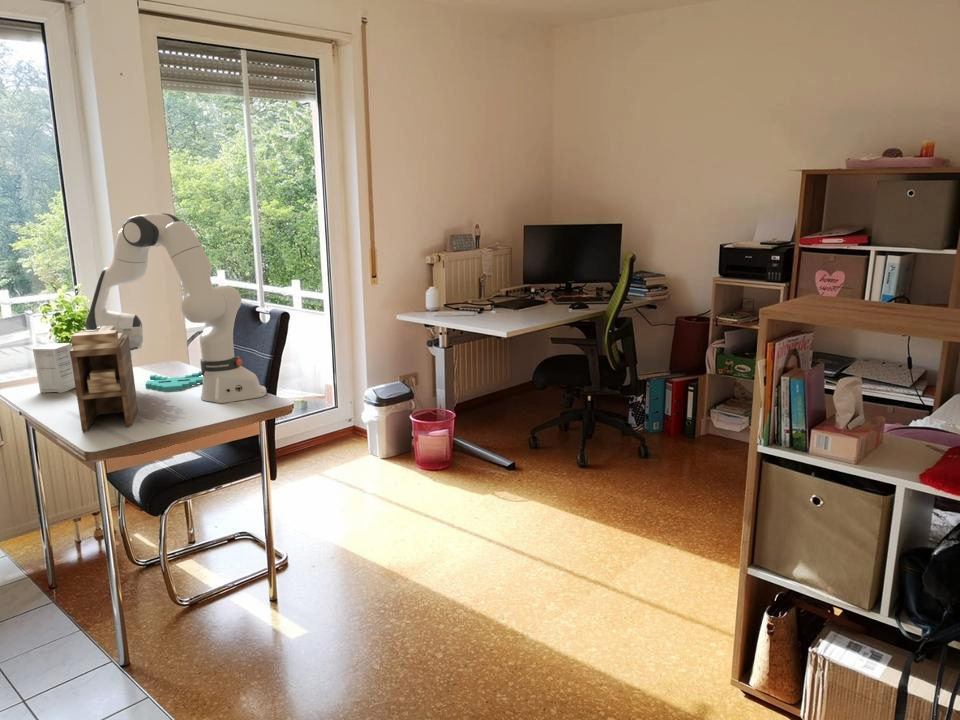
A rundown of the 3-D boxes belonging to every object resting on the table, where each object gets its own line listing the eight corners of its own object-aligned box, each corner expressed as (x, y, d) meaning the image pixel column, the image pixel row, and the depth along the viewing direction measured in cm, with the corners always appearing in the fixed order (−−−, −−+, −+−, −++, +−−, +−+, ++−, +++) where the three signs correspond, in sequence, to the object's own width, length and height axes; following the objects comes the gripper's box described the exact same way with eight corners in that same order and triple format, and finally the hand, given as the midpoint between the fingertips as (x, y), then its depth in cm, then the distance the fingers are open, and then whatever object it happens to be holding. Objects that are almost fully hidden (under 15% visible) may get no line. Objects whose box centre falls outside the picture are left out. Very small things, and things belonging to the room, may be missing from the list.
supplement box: (79, 386, 282) (72, 343, 278) (62, 393, 273) (55, 348, 269) (56, 385, 283) (49, 342, 279) (39, 392, 275) (31, 348, 270)
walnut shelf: (138, 409, 253) (128, 334, 246) (131, 427, 234) (120, 347, 228) (92, 413, 248) (81, 337, 242) (82, 432, 230) (69, 351, 224)
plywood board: (128, 330, 253) (126, 317, 252) (116, 347, 228) (114, 333, 226) (89, 332, 250) (87, 319, 249) (73, 350, 224) (71, 336, 223)
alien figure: (151, 380, 290) (143, 394, 272) (150, 375, 290) (142, 388, 271) (205, 376, 295) (201, 389, 277) (204, 371, 295) (200, 384, 276)
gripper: (81, 335, 259) (72, 322, 246) (145, 331, 265) (139, 317, 252) (82, 352, 257) (72, 340, 245) (146, 347, 264) (140, 335, 251)
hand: (107, 328), depth 249 cm, fingers closed on plywood board, 3 cm apart
